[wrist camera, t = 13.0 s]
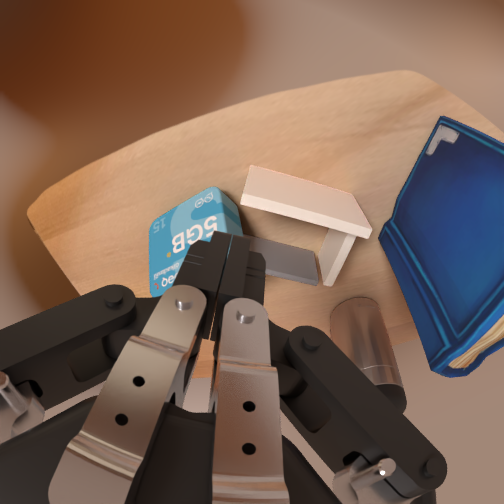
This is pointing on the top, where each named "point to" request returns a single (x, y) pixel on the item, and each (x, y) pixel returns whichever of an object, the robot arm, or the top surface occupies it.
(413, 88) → the top surface
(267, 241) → the shelf nook
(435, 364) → the book
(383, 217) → the top surface
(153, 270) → the data package
